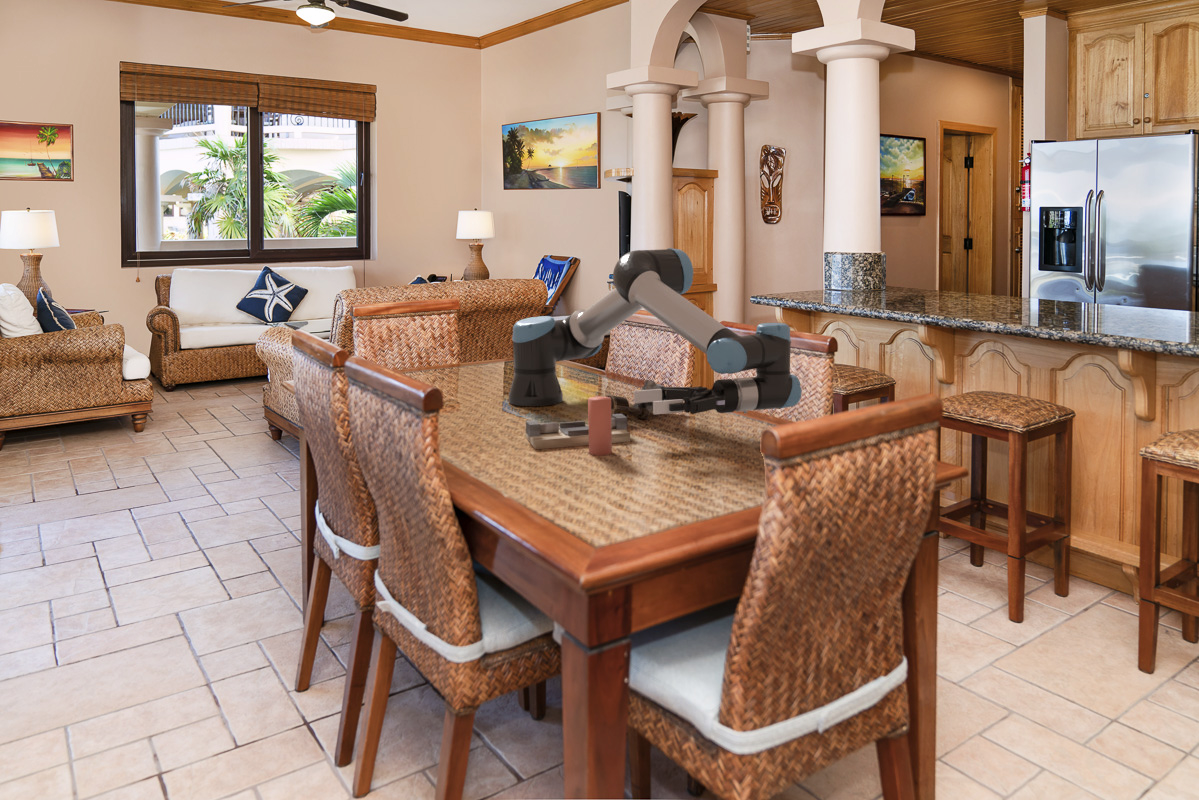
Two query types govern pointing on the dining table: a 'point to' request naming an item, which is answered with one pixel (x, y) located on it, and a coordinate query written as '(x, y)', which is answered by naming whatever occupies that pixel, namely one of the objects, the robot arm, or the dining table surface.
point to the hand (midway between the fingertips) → (643, 402)
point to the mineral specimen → (647, 386)
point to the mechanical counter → (626, 408)
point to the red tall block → (599, 425)
